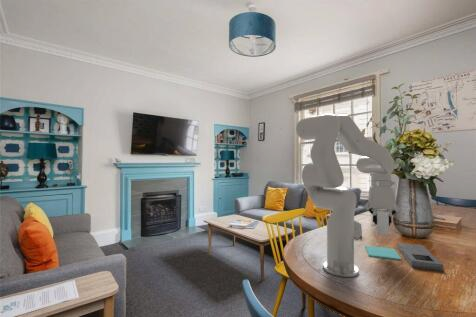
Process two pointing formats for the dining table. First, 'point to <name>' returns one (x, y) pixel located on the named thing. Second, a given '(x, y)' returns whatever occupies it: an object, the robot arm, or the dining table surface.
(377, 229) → the steel block
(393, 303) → the dining table surface
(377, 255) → the mat
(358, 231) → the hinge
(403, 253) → the slotted plate
